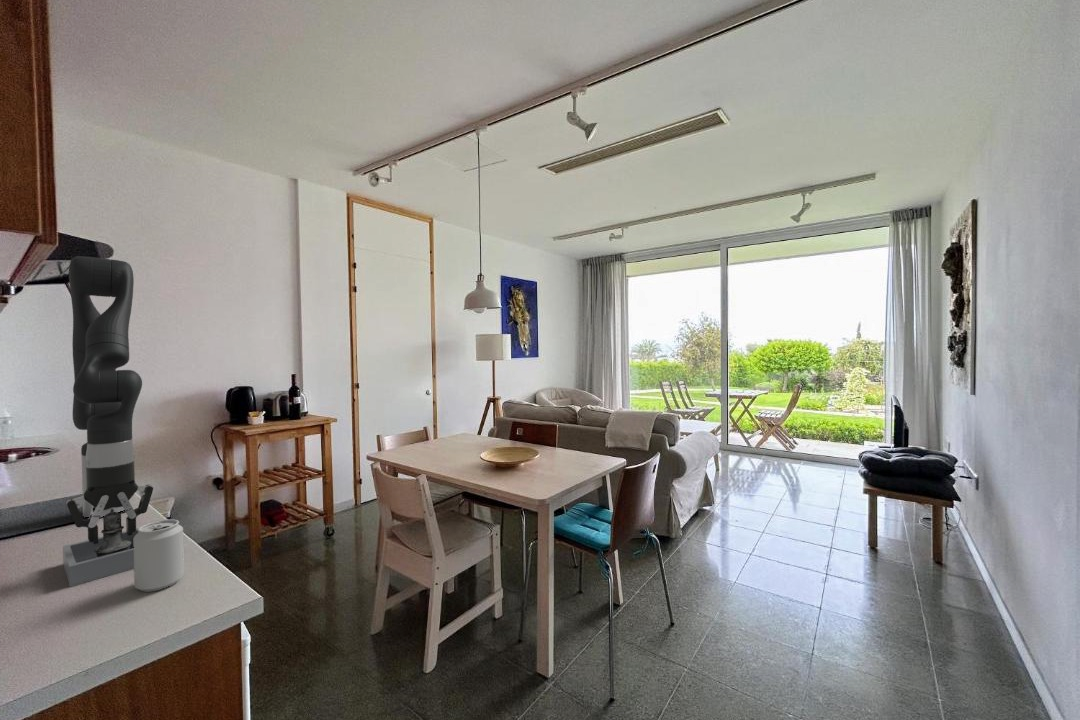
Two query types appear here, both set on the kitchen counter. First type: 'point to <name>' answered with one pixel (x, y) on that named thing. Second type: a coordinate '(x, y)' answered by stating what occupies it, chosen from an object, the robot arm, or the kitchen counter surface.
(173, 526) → the can
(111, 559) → the bin
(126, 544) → the chess piece
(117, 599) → the kitchen counter surface
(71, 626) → the kitchen counter surface
